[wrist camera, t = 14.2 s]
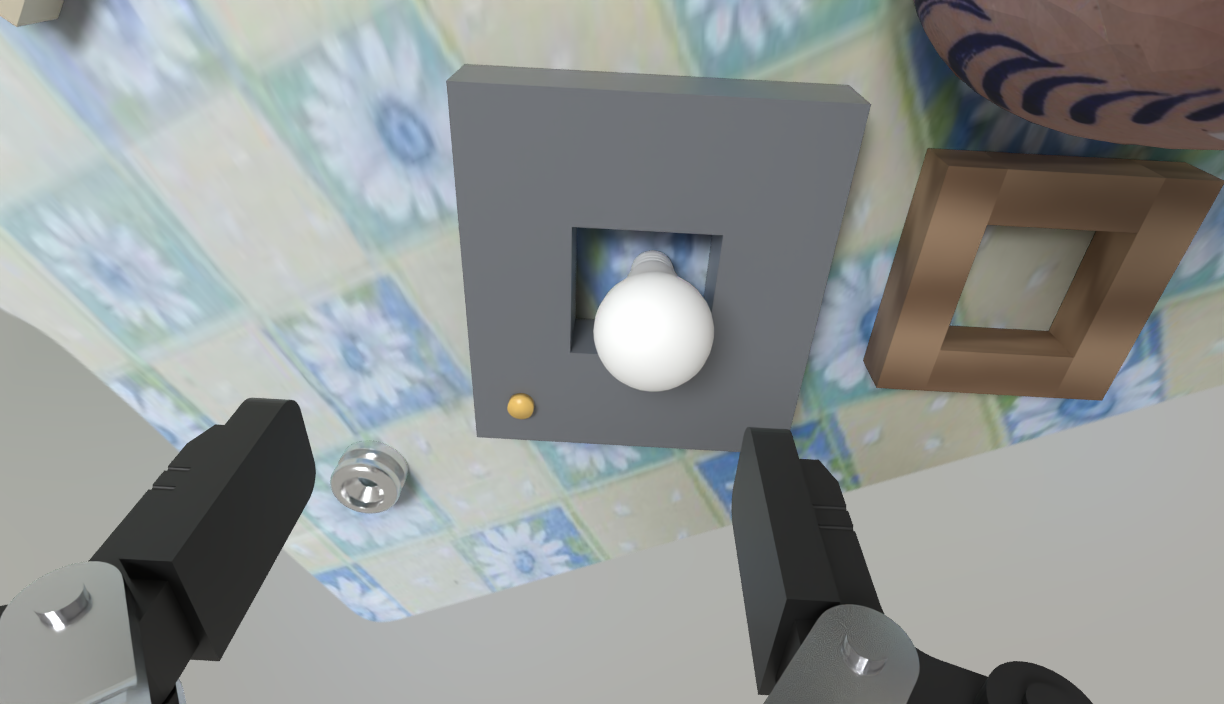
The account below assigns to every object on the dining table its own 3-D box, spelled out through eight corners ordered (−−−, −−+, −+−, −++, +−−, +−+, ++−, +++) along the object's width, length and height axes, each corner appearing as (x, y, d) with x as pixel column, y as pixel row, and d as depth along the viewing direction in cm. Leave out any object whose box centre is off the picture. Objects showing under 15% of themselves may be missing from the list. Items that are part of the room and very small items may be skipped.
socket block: (464, 64, 35) (443, 83, 31) (848, 85, 35) (874, 107, 31) (488, 399, 47) (475, 443, 43) (773, 415, 47) (785, 460, 43)
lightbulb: (698, 209, 39) (714, 301, 30) (706, 301, 42) (723, 410, 33) (594, 223, 40) (579, 317, 31) (609, 312, 43) (600, 421, 34)
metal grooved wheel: (410, 447, 50) (342, 433, 50) (399, 475, 48) (327, 461, 47) (406, 493, 53) (342, 481, 52) (395, 522, 50) (327, 510, 50)
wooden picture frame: (927, 148, 37) (948, 166, 34) (1185, 162, 37) (1225, 181, 34) (863, 360, 44) (876, 387, 42) (1075, 372, 44) (1101, 400, 42)
